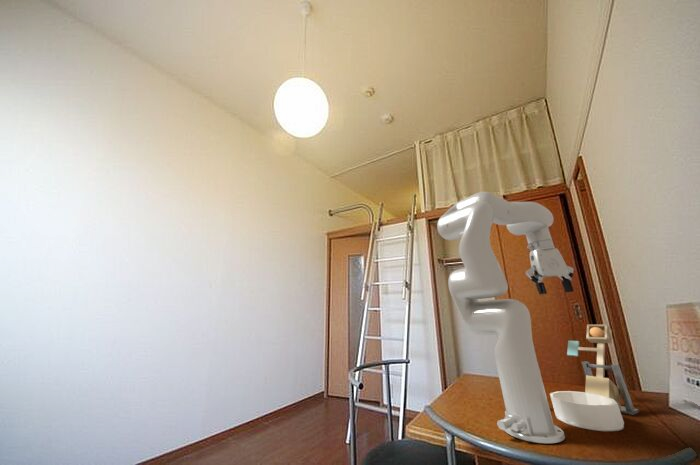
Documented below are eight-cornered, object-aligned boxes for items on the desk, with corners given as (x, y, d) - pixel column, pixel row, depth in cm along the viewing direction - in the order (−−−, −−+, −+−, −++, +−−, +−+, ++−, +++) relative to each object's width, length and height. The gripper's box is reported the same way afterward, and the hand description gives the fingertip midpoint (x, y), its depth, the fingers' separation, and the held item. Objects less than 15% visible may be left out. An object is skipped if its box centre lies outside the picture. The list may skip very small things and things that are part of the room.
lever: (621, 410, 71) (607, 395, 70) (571, 399, 80) (559, 387, 80) (619, 337, 83) (607, 324, 82) (576, 336, 93) (565, 324, 92)
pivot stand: (633, 415, 69) (616, 366, 73) (591, 406, 77) (577, 362, 81) (639, 411, 71) (622, 364, 75) (597, 403, 79) (584, 360, 83)
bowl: (610, 436, 58) (601, 409, 60) (545, 418, 70) (540, 396, 72) (633, 423, 64) (625, 399, 66) (570, 408, 76) (565, 388, 78)
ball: (603, 339, 80) (599, 327, 81) (589, 338, 83) (586, 327, 84) (608, 338, 82) (604, 326, 83) (594, 338, 85) (591, 326, 86)
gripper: (525, 246, 93) (539, 294, 88) (572, 242, 93) (589, 290, 88) (513, 251, 100) (525, 295, 95) (556, 247, 100) (571, 291, 95)
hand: (556, 292), depth 91 cm, fingers open, 9 cm apart
